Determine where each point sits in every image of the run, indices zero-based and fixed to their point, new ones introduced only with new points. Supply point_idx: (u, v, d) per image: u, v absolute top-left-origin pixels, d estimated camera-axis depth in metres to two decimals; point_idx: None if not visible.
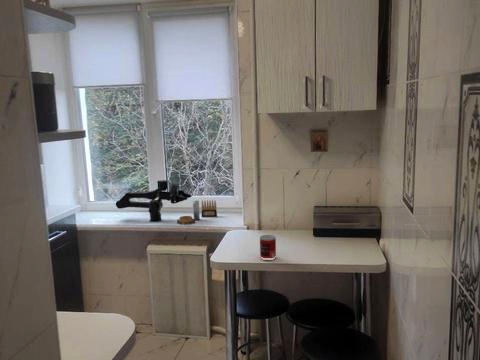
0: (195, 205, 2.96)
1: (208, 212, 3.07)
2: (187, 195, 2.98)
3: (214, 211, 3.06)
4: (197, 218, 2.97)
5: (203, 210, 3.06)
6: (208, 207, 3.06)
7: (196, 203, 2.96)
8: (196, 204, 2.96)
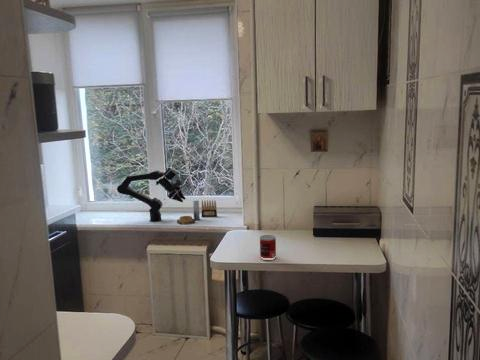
0: (195, 205, 2.96)
1: (208, 212, 3.07)
2: (182, 196, 3.02)
3: (214, 211, 3.06)
4: (197, 218, 2.97)
5: (203, 210, 3.06)
6: (208, 207, 3.06)
7: (196, 203, 2.96)
8: (196, 204, 2.96)
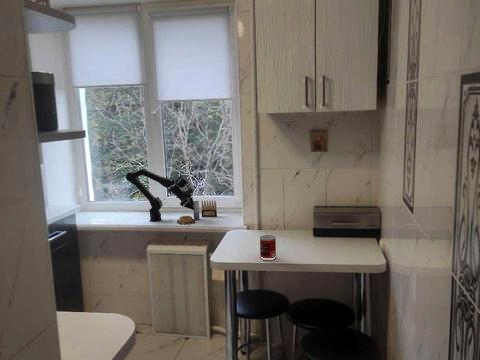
0: (195, 205, 2.96)
1: (208, 212, 3.07)
2: None
3: (214, 211, 3.06)
4: (197, 218, 2.97)
5: (203, 210, 3.06)
6: (208, 207, 3.06)
7: (196, 203, 2.96)
8: (196, 204, 2.96)
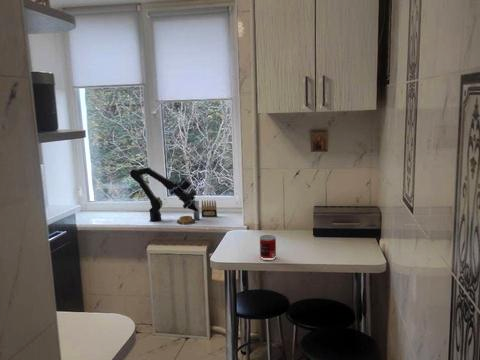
0: (195, 205, 2.96)
1: (208, 212, 3.07)
2: None
3: (214, 211, 3.06)
4: (197, 218, 2.97)
5: (203, 210, 3.06)
6: (208, 207, 3.06)
7: (196, 203, 2.96)
8: (196, 204, 2.96)
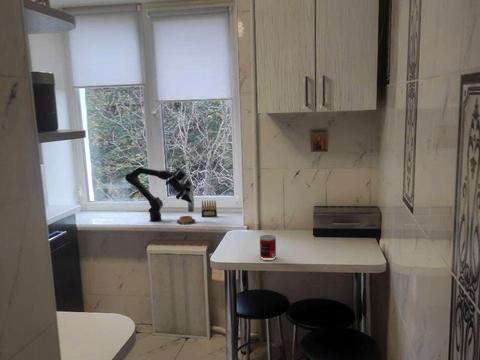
0: (189, 196, 2.92)
1: (208, 212, 3.07)
2: None
3: (214, 211, 3.06)
4: (191, 209, 2.93)
5: (203, 210, 3.06)
6: (208, 207, 3.06)
7: (190, 194, 2.92)
8: (190, 195, 2.92)
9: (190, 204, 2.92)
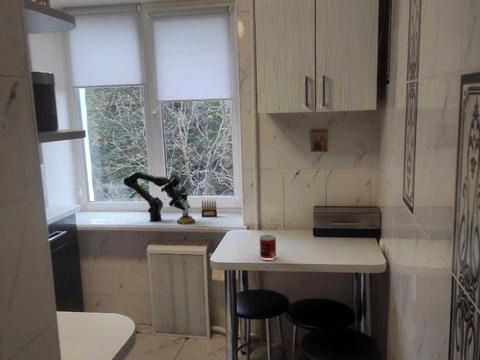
0: (183, 205, 2.90)
1: (208, 212, 3.07)
2: None
3: (214, 211, 3.06)
4: None
5: (203, 210, 3.06)
6: (208, 207, 3.06)
7: (184, 203, 2.89)
8: (184, 204, 2.90)
9: (184, 213, 2.90)
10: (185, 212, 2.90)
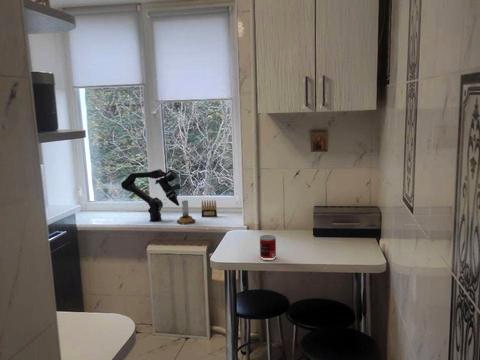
0: (183, 205, 2.90)
1: (208, 212, 3.07)
2: (176, 201, 2.99)
3: (214, 211, 3.06)
4: None
5: (203, 210, 3.06)
6: (208, 207, 3.06)
7: (184, 203, 2.89)
8: (184, 204, 2.90)
9: (184, 213, 2.90)
10: (185, 212, 2.90)
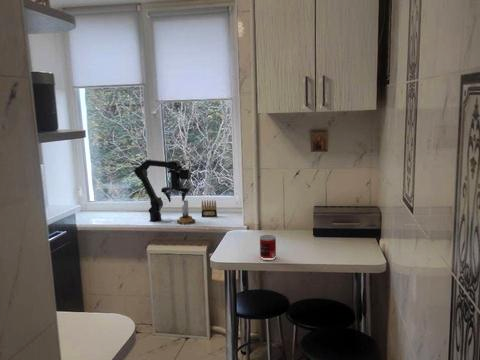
0: (183, 205, 2.90)
1: (208, 212, 3.07)
2: None
3: (214, 211, 3.06)
4: None
5: (203, 210, 3.06)
6: (208, 207, 3.06)
7: (184, 203, 2.89)
8: (184, 204, 2.90)
9: (184, 213, 2.90)
10: (185, 212, 2.90)
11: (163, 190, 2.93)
